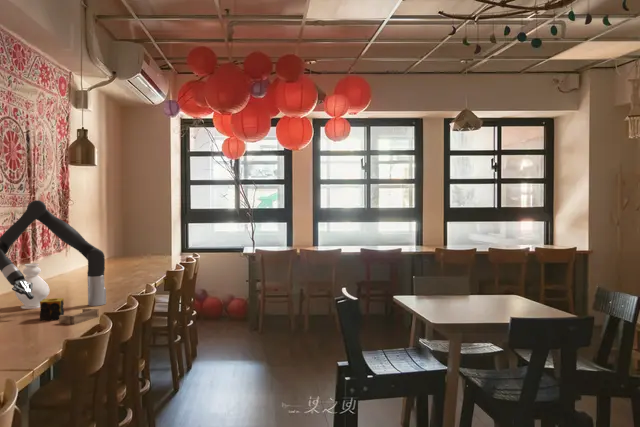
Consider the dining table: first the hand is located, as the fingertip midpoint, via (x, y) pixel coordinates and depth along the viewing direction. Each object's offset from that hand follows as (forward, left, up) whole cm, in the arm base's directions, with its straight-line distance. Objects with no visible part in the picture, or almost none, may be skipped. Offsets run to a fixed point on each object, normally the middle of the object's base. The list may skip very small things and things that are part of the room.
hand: (32, 298), depth 302 cm
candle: (-3, +12, -10) cm, 16 cm away
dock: (-8, +28, -10) cm, 31 cm away
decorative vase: (-18, -28, -10) cm, 35 cm away
